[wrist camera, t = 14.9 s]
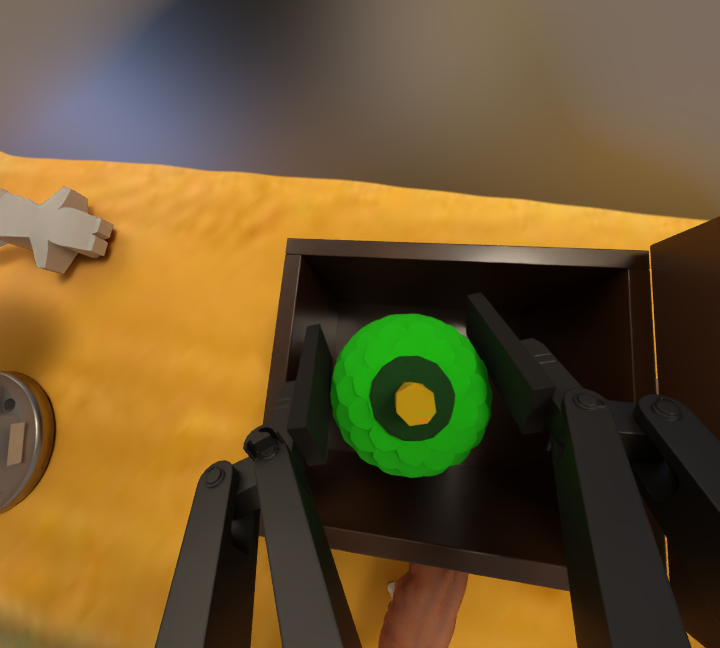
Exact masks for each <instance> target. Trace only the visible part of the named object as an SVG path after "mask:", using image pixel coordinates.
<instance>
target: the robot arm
mask: <svg viewBox="0 0 720 648" xmlns="http://www.w3.org/2000/svg"><path fill="white" fill-rule="evenodd" d="M466 335H467V337H468V339H469V341H470V342H471V344H472V345H473V347H474V348H475V350H476V351H477V353H478V355H479V356H480V359H481V360H482V361H484V364H485V366H486V368H487V372H488V374H489V376H490V377H491V379H492V381H493V383H494V385H495V386H496V388H497V390H498V392H499V393H500V395H501V397H502V399H503V400H504V402H505V404H506V406H507V407H508V409H509V411H510V413H511V414H512V416H513V418H514V420H515V422H516V423H517V425H518V427H519V429H520V430H521V432H522V434H523V435H525V434H531V433H538V432H543V429H544V426H545V423H546V425H547V426H548V428H549V429H550V431H551V435H550V438H549V441H548V444H547V449H546V450H547V451H550V448H551V452H552V459H553V467H554V474H555V482H556V490H557V497H558V505H559V512H560V520H561V527H562V535H563V542H564V550H565V558H566V565H567V573H568V580H569V588H570V595H571V603H572V610H573V618H574V625H575V633H576V641H577V648H691V645H690V642H689V639H688V636H687V633H686V630H685V627H684V624H683V621H682V618H681V615H680V612H679V609H678V606H677V603H676V600H675V597H674V594H673V591H672V588H671V585H670V582H669V579H668V576H667V573H666V570H665V567H664V564H663V561H662V558H661V555H660V552H659V549H658V546H657V544H656V541H655V538H654V535H653V532H652V529H651V526H650V523H649V520H648V517H647V514H646V511H645V508H644V505H643V502H642V499H641V496H642V497H643V499H644V501H645V502H646V504H647V506H648V507H649V509H650V511H651V512H652V514H653V516H654V517H655V519H656V521H657V522H658V524H659V526H660V527H661V529H662V531H663V532H664V534H665V536H666V537H667V539H668V541H669V542H670V544H671V546H672V547H673V549H674V551H675V552H676V554H677V556H678V557H679V559H680V561H681V562H682V564H683V565H684V567H685V569H686V570H687V572H688V574H689V575H690V577H691V579H692V580H693V582H694V584H695V585H696V587H697V589H698V590H699V592H700V594H701V595H702V597H703V599H704V600H705V602H706V604H707V605H708V607H709V609H710V610H711V612H712V614H713V615H714V617H715V619H716V620H717V622H718V624H719V625H720V440H719V439H718V438H717V437H716V436H715V435H714V434H713V433H712V432H711V430H710V429H709V428H708V427H707V426H706V425H705V424H704V423H703V422H702V421H701V420H700V419H699V418H698V417H697V416H696V415H695V413H694V412H693V411H692V410H691V409H689V408H688V407H687V406H686V405H684V404H683V403H681V402H679V401H677V400H675V399H673V398H670V397H667V396H664V395H657V394H649V395H644V396H643V397H641V398H640V399H639V400H638V402H637V403H632V402H622V401H612V400H607V399H605V398H604V397H603V396H601V395H600V394H598V393H596V392H594V391H592V390H588V389H584V388H583V387H582V386H581V385H580V384H579V383H578V382H577V381H576V379H575V378H574V377H573V376H572V375H571V374H570V373H569V372H568V371H567V369H566V368H565V367H564V366H563V365H562V364H561V363H560V362H559V361H558V359H557V358H556V357H555V356H554V355H552V353H551V352H550V351H549V349H548V348H547V347H546V346H545V345H544V344H542V343H541V342H539V341H537V340H535V339H534V338H530V339H524V340H519V339H518V338H517V336H516V335H515V334H514V333H513V331H512V330H511V329H510V328H509V326H508V325H507V324H506V323H505V321H504V320H503V319H502V318H501V316H500V315H499V314H498V313H497V311H496V310H495V309H494V308H493V306H492V305H491V304H490V303H489V301H488V300H487V299H486V298H485V296H484V295H483V294H482V293H476V294H471V295H467V316H466ZM331 375H332V356H331V353H330V350H329V348H328V345H327V342H326V339H325V336H324V334H323V331H322V328H321V325H320V324H316V325H310V326H307V328H306V333H305V338H304V343H303V348H302V353H301V358H300V363H299V368H298V374H297V379H296V380H295V381H290V382H284V383H283V384H282V386H281V387H280V389H279V390H278V392H277V396H276V399H275V403H274V407H273V411H272V415H271V419H270V422H269V424H264V425H261V426H259V427H257V428H255V429H254V430H253V431H251V433H250V434H249V435H248V436H247V438H246V440H245V442H244V447H243V449H244V450H245V452H246V453H247V454H248V455H249V457H247V458H245V459H243V460H241V461H239V462H237V463H235V464H233V465H232V464H231V463H230V462H228V461H225V460H224V461H218V462H216V463H214V464H212V465H211V466H210V467H209V468H207V469H206V470H205V472H204V473H203V474H202V475H201V477H200V480H199V482H198V485H197V488H196V492H195V496H194V500H193V504H192V507H191V511H190V515H189V519H188V523H187V527H186V530H185V534H184V538H183V542H182V546H181V549H180V553H179V557H178V561H177V565H176V568H175V572H174V576H173V580H172V584H171V587H170V591H169V595H168V599H167V603H166V606H165V610H164V614H163V618H162V622H161V625H160V629H159V633H158V637H157V641H156V644H155V648H250V646H251V633H252V619H253V606H254V592H255V579H256V565H257V552H258V538H259V525H260V511H261V515H262V521H263V527H264V534H265V540H266V546H267V553H268V559H269V565H270V572H271V578H272V584H273V590H274V597H275V603H276V609H277V616H278V622H279V628H280V634H281V641H282V647H283V648H362V646H361V643H360V640H359V637H358V634H357V630H356V627H355V624H354V621H353V618H352V615H351V612H350V609H349V606H348V602H347V599H346V596H345V593H344V590H343V587H342V584H341V581H340V578H339V575H338V571H337V568H336V565H335V562H334V559H333V556H332V553H331V550H330V547H329V544H328V540H327V537H326V534H325V531H324V528H323V525H322V522H321V519H320V516H319V513H318V509H317V506H316V503H315V500H314V497H313V494H312V491H311V488H310V485H309V482H308V478H307V475H306V474H305V472H304V464H305V461H306V462H307V464H308V466H314V465H321V464H326V456H327V440H328V423H329V407H330V391H331ZM53 441H54V418H53V412H52V408H51V405H50V402H49V400H48V398H47V396H46V394H45V393H44V391H43V390H42V388H41V387H40V386H39V385H38V384H37V383H36V382H35V381H34V380H32V379H31V378H29V377H28V376H26V375H24V374H21V373H18V372H13V371H0V513H1V512H4V511H6V510H8V509H10V508H11V507H13V506H15V505H16V504H17V503H19V502H20V501H21V500H22V499H24V498H25V497H26V496H27V495H28V494H29V493H30V491H31V490H32V489H33V488H34V487H35V485H36V484H37V482H38V481H39V479H40V478H41V476H42V474H43V472H44V470H45V468H46V466H47V464H48V461H49V458H50V455H51V451H52V447H53ZM639 492H640V493H639ZM640 494H641V496H640Z"/></svg>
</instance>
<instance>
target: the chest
mask: <svg viewBox="0 0 720 648" xmlns="http://www.w3.org/2000/svg"><path fill="white" fill-rule="evenodd" d="M649 269H650V265H649V251H642V250H613V249H584V248H555V247H526V246H497V245H468V244H439V243H410V242H381V241H353V240H324V239H295V238H288V239H287V246H286V255H285V262H284V269H283V277H282V284H281V292H280V300H279V307H278V315H277V322H276V330H275V337H274V345H273V352H272V360H271V367H270V375H269V382H268V390H267V397H266V405H265V412H264V420H263V425H264V424H269V422H270V419H271V415H272V411H273V407H274V403H275V399H276V396H277V392H278V390H279V389H280V387H281V386H282V384H283V383H284V382H290V381H295V380H296V379H297V374H298V368H299V363H300V358H301V353H302V348H303V343H304V338H305V333H306V328H307V326H310V325H316V324H320V325H321V328H322V331H323V334H324V336H325V339H326V342H327V345H328V348H329V350H330V353H331V356H332V375H333V373H334V368H335V365H336V361H337V358H338V356H339V354H340V352H341V351H342V350H343V349H344V346H345V345H346V344H347V343H348V342H349V340H350V339H351V338H352V336H354V335H355V334H356V333H357V332H358V331H359V330H360V329H361V328H363V327H365V326H366V325H368V324H370V323H371V322H373V321H376V320H380V319H382V318H384V317H386V316H389V315H395V314H400V315H401V314H420V315H424V316H427V317H433V318H435V319H437V320H440V321H442V322H444V323H445V324H448V325H452V326H453V327H454V328H455V329H456V330H457V331H458V332H459V333H460V334H461V335H462V336H464V337H465V338H467V339H468V337H467V335H466V316H467V295H471V294H476V293H482V294H483V295H484V296H485V298H486V299H487V300H488V301H489V303H490V304H491V305H492V306H493V308H494V309H495V310H496V311H497V313H498V314H499V315H500V316H501V318H502V319H503V320H504V321H505V323H506V324H507V325H508V326H509V328H510V329H511V330H512V331H513V333H514V334H515V335H516V336H517V338H518V339H519V340H524V339H530V338H534V339H535V340H537V341H539V342H541V343H542V344H544V345H545V346H546V347H547V348H548V349H549V351H550V352H551V353H552V355H554V356H555V357H556V358H557V359H558V361H559V362H560V363H561V364H562V365H563V366H564V367H565V368H566V369H567V371H568V372H569V373H570V374H571V375H572V376H573V377H574V378H575V379H576V381H577V382H578V383H579V384H580V385H581V386H582V387H583V388H584V389H588V390H592V391H594V392H596V393H598V394H600V395H601V396H603V397H604V398H605V399H607V400H612V401H622V402H632V403H637V402H638V400H639V399H640V398H641V397H643V396H644V395H649V394H657V389H656V371H655V354H654V336H653V319H652V301H651V284H650V270H649ZM487 373H488V372H487ZM332 375H331V378H332ZM488 381H489V384H490V387H491V390H492V392H493V394H492V403H491V417H490V419H489V422H488V425H487V427H486V428H485V433H484V436H483V439H482V440H481V442H480V443H479V444H478V446H476V447H474V448H473V449H471V450H470V453H469V455H468V456H467V458H466V459H465V460H464V461H463V462H461V463H460V464H458V465H454V466H450V467H448V468H447V469H446V470H445V471H444V472H443V473H440V474H438V475H435V476H427V477H426V476H423V477H416V478H409V477H404V476H397V475H390V474H388V473H385V472H383V471H382V470H381V469H380V468H379V467H377V466H375V465H371V464H368V463H367V462H366V461H364V460H363V459H361V458H360V456H359V455H358V453H357V452H356V451H355V450H354V449H353V448H352V447H351V446H350V445H349V444H348V443H347V442H346V441H345V440H344V439H343V436H342V434H341V431H340V428H339V427H338V426H337V424H336V421H335V419H334V417H333V407H332V404H331V396H330V407H329V423H328V440H327V456H326V464H321V465H314V466H308V464H307V462H306V461H305V464H304V472H305V474H306V475H307V478H308V482H309V485H310V488H311V491H312V494H313V497H314V500H315V503H316V506H317V509H318V513H319V516H320V519H321V522H322V525H323V528H324V531H325V534H326V537H327V540H328V544H329V547H330V549H335V550H341V551H346V552H352V553H358V554H363V555H369V556H374V557H380V558H386V559H391V560H397V561H403V562H408V563H414V564H419V565H425V566H431V567H436V568H442V569H447V570H453V571H459V572H464V573H470V574H475V575H481V576H487V577H492V578H498V579H504V580H509V581H515V582H520V583H526V584H532V585H537V586H543V587H548V588H554V589H560V590H565V591H570V588H569V580H568V573H567V565H566V558H565V550H564V542H563V535H562V527H561V520H560V512H559V505H558V497H557V490H556V482H555V474H554V467H553V459H552V452H551V448H550V451H547V450H546V449H547V444H548V441H549V438H550V435H551V431H550V429H549V428H548V426H547V425H546V423H545V426H544V429H543V432H538V433H531V434H525V435H523V434H522V432H521V430H520V429H519V427H518V425H517V423H516V422H515V420H514V418H513V416H512V414H511V413H510V411H509V409H508V407H507V406H506V404H505V402H504V400H503V399H502V397H501V395H500V393H499V392H498V390H497V388H496V386H495V385H494V383H493V381H492V379H491V377H490V376H489V374H488ZM330 392H331V391H330ZM639 493H640V492H639ZM640 496H641V494H640ZM641 499H642V502H643V505H644V508H645V511H646V514H647V517H648V520H649V523H650V526H651V529H652V532H653V535H654V538H655V541H656V544H657V546H658V549H659V552H660V555H661V558H662V561H663V564H664V567H665V570H666V573H667V564H666V547H665V534H664V532H663V531H662V529H661V527H660V526H659V524H658V522H657V521H656V519H655V517H654V516H653V514H652V512H651V511H650V509H649V507H648V506H647V504H646V502H645V501H644V499H643V497H642V496H641ZM259 536H262V537H265V534H264V527H263V521H262V515H261V511H260V525H259Z"/></svg>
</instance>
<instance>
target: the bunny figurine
mask: <svg viewBox="0 0 720 648" xmlns="http://www.w3.org/2000/svg"><path fill="white" fill-rule="evenodd" d="M112 228H113V224H111V223H109V222H107V221H105V220H104V219H102V218H98V217H95V216H92V215H90V214H88V199H87V198H86V197H84V196H82V195H81V194H79V193H77V192H76V191H74V190H72V189H70V188H67V187H63V188H61V189H60V190H59V191H58V192H56V193H55V194H54V195H53V196H52V197H50V198H49V199H48V200H47V201H45V202H44V203H42V204H41V205H39V204H37V203H35V202H33V201H31V200H29V199H26V198H23V197H21V196H17V195H13V194H10V193H9V192H8V191H6V190H3V189H0V247H1V246H3V245H6V244H12V245H16V246H20V247H24V248H28V249H32V250H33V253H34V257H35V262H36V266H37V267H38V268H42V269H45V270H49V271H52V272H56V273H65V271H66V270H67V268H68V267H69V265H70V264H71V262H72V261H73V260H74V258H75V257H76V255H77V254H78V253H81V254H83V255H86V256H89V257H91V258H98V257H99V256H104V255H105V251H106V248H107V245H108V243H107V242H106V241H105V240H104V239H107V238H110V235H111V232H112Z"/></svg>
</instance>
